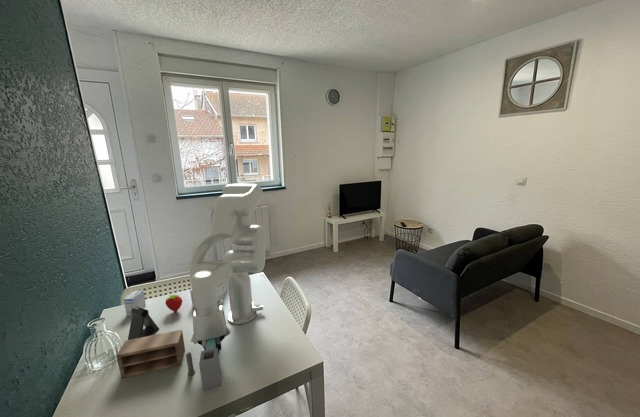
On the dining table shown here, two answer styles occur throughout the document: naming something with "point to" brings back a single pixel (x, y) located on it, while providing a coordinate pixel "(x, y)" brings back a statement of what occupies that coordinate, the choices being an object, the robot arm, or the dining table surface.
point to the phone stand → (141, 324)
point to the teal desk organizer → (210, 365)
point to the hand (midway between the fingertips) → (213, 352)
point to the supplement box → (220, 289)
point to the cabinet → (153, 354)
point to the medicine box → (134, 301)
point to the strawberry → (174, 302)
